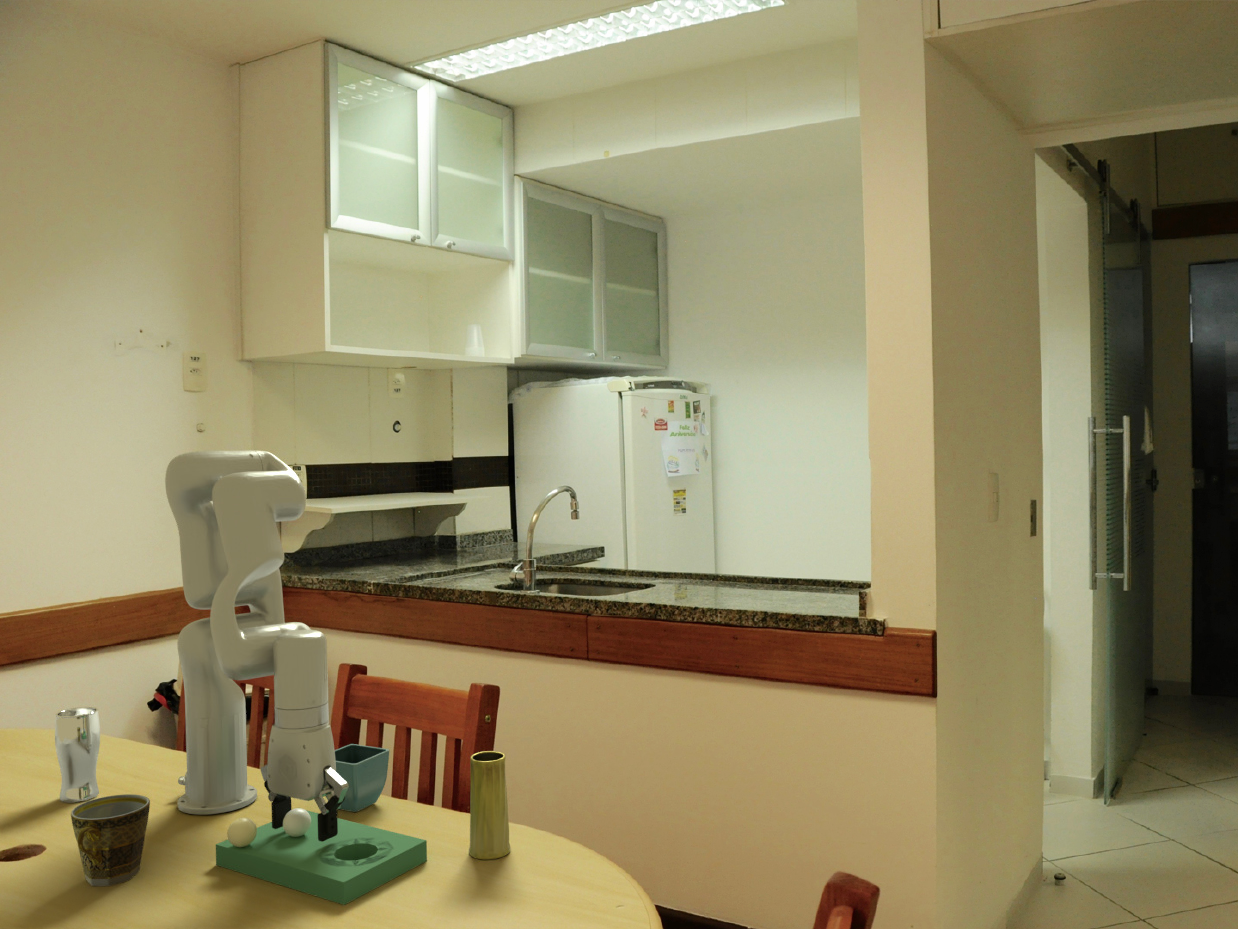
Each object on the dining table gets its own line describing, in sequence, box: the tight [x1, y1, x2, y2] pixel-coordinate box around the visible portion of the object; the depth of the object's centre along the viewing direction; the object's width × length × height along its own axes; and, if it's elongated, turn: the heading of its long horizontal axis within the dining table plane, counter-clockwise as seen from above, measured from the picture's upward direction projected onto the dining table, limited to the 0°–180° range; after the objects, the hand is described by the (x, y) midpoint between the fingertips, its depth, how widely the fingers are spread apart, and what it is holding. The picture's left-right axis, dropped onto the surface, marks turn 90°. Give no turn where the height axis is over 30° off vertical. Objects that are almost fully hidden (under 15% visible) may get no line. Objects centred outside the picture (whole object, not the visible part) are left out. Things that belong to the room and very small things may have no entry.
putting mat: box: [215, 809, 428, 906], centre depth 146 cm, size 26×16×3 cm, turn 59°
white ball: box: [283, 807, 311, 837], centre depth 148 cm, size 4×4×4 cm
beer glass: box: [54, 706, 101, 804], centre depth 175 cm, size 7×7×15 cm
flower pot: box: [325, 743, 390, 813], centre depth 169 cm, size 9×9×9 cm
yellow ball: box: [226, 817, 258, 847], centre depth 145 cm, size 4×4×4 cm
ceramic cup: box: [70, 793, 151, 887], centre depth 141 cm, size 13×10×10 cm
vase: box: [468, 750, 511, 861], centre depth 149 cm, size 6×6×14 cm
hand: (304, 832), depth 147 cm, fingers open, 9 cm apart
